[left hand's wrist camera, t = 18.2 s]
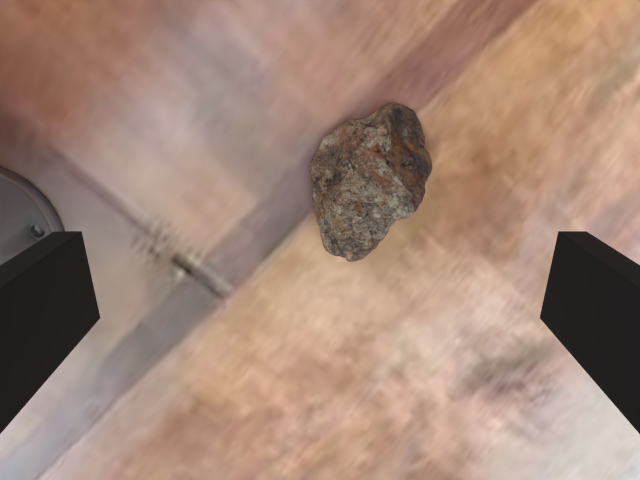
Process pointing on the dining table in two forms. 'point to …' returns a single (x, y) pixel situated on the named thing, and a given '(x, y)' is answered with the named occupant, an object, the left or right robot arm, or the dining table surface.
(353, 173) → the rock
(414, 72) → the dining table surface
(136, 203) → the dining table surface
